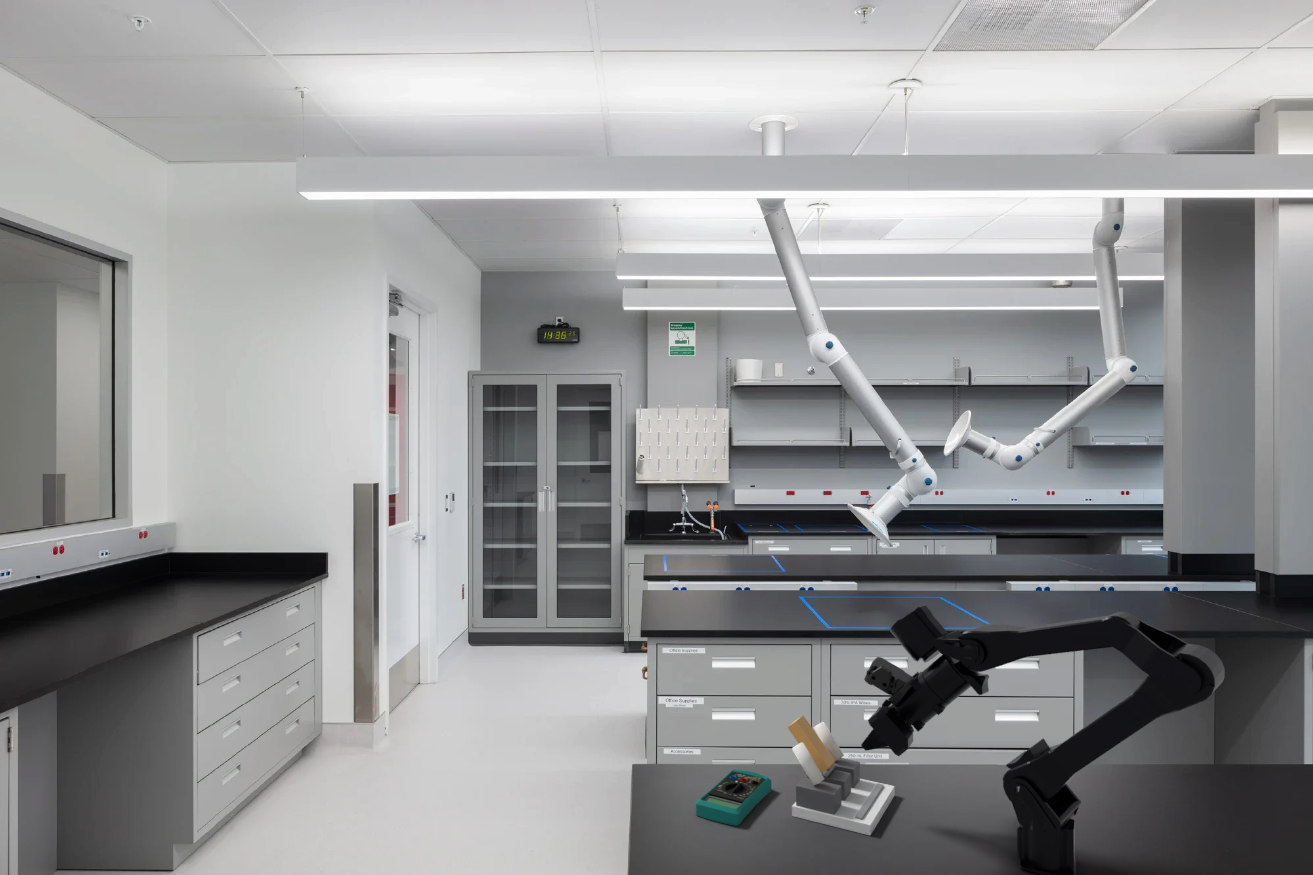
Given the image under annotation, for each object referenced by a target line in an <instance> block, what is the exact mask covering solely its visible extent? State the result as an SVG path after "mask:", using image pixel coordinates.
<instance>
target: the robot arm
mask: <svg viewBox="0 0 1313 875" xmlns="http://www.w3.org/2000/svg"><path fill="white" fill-rule="evenodd" d="M889 631H890V633H891V634H892V635H893V636H894V637H895V639H896V640H897V641H898V642H899V644H900V645H901V646H902V648H903V649H904V650H905V651H906V652H907V653H908V655H909V656H910V657H911V659H912V660H913V661H914V662H919V661H920V660H922V661H923V662H924V663H928V662H930V661H931V660H933V659H934V658H935V657H937V656H939V654H940V656H939V657H938V658H937V659H936V660H935V661H933V662H932V663H931V664H930V665H928V666H927V667H926V668H925V669H923V671H920V672H919V671H917V672H915V673H914V674H913V675H911V674H909V673H908V672H906V671H905V670H904V669H903V668H900V667H898V666H897V665H895V664H893V663H892V662H891V661H888V660H887V659H885V658H883V657H880V656H876V658H874V660H873V661H872V662H871V664H870V665H869V668H868V670H867V671H866V674H865V676H864V678H863V680H864V681H865V683H866V684H868V685H870V686H873V687H876V688H877V689H879V690H880V691H882V692H884V693H886V694H887V695H889V696H890V697H888V698H887V699H885V700H884V701H883V702H882V703H881V706H879V707H878V708H877V709H876V710H875V712H874V713H873V714H872V715H871V716H870V717H869V718H868V720H867V722H868V724H869V726H870V727H871V728H872V730H871V731H870V732H869V734H868V735H867V736H866V737H865V739H864V740H863V741H862V742H861V745H860V746H861V747H862V749H864V751H873V750H877V749H881V748H887V747H888V748H889V749H890V750H891V751H892V752H893V754H894V755H896V756H898V757H900V756H901V755H903V754H904V753H905V752H907V751H908V750H909V749H910V747H911V746H912V744H913V743H914V732H915V730H916V731H917V732H920V731H921V730H922V729H923V728H924V727H925V725H926V724H927V723H928V722H929V721H930V720H932V719H933V718H935V716H936V715H937V716H939V715H941V714H942V713H944V711H945V709H946V708H947V707H948V706H949V705H950V704H951V703H952V702H954V701H956V700H957V698H959V697H960V696H962V695H963V694H964V693H965V692H967V691H968V690H969V689H970V688H972V689H973V690H974V692H976V694H978V696H982V695H984V694H986V693H989V692H990V691H989V690H990V688H989V678H990V675H989V674H988V673H987V674H984V673H982V672H985V671H989V670H991V669H995V668H998V667H1000V666H1005V665H1006V664H1007V665H1008V664H1009V663H1012V662H1015V661H1018V660H1022V659H1024V658H1030V657H1038V656H1047V655H1057V654H1063V653H1065V654H1066V653H1074V652H1081V651H1090V650H1098V649H1105V648H1106V649H1107V648H1114V649H1115V650H1117V651H1119V652H1120V653H1122V654H1123V655H1124V657H1126V658H1127V659H1129V660H1130V662H1132V663H1133V664H1134V665H1135V666H1136V667H1137V668H1139V669H1140V670H1141V671H1142V672H1143V673H1144V674H1146V675H1148V676H1147V677H1145V679H1144V680H1143V681H1142V682H1141V684H1140V685H1139V686H1138V687H1137V689H1136V690H1135V691H1133V692H1132V693H1131V694H1129V695H1128V696H1126V697H1125V698H1123V699H1122V700H1120V701H1119V702H1118V703H1116V704H1115V705H1114V706H1112V707H1111V708H1109V709H1108V710H1107V711H1105V712H1104V713H1102V714H1100V715H1099V716H1098V717H1096V718H1095V719H1094V720H1092V721H1091V722H1090V723H1088V724H1087V725H1086V726H1083V728H1081V729H1080V730H1078V731H1077V732H1076V733H1074V734H1073V735H1071V736H1070V737H1068V738H1067V739H1066V740H1064V741H1063V742H1060V743H1058V744H1056V745H1053V746H1049V744H1048V743H1047V742H1046V740H1045V739H1044V738H1041V739H1040V740H1038V742H1036V743H1035V744H1033V745H1032V746H1031V747H1030V748H1028V749H1027V750H1026V751H1022V752H1021V753H1020V754H1019V755H1017V756H1016V757H1015V758H1013V759H1012V760H1011V761H1009V762H1008V763H1006V765H1005V767H1007V768H1008V769H1009V770H1007V771H1006V772H1005V773H1004V774H1003V777H1002V787H1003V790H1004V793H1005V795H1006V797H1007V799H1008V800H1009V801H1010V802H1011V804H1012V808H1013V810H1014V812H1015V816H1016V819H1017V821H1018V822H1017V829H1016V841H1017V842H1016V844H1017V845H1016V846H1017V848H1016V850H1017V851H1016V854H1017V855H1016V857H1017V858H1019V859H1020V862H1019V868H1020V869H1021V870H1023V871H1026V872H1032V873H1034V874H1035V873H1036V874H1039V875H1076V871H1077V857H1076V845H1075V844H1076V841H1075V840H1076V838H1075V835H1076V834H1075V833H1076V831H1075V830H1076V829H1075V828H1076V827H1075V826H1076V825H1075V823H1076V822H1075V819H1073V817H1074V816H1076V815H1077V814H1078V812H1079V809H1080V807H1081V805H1082V801H1081V800H1080V798H1079V797H1078V796H1077V795H1076V793H1075V792H1074V791H1073V789H1071V787H1070V786H1069V785H1068V784H1069V783H1070V781H1071V780H1072V779H1073V778H1074V777H1075V776H1076V775H1077V774H1078V772H1079V771H1080V770H1083V769H1084V768H1085V767H1087V766H1088V765H1090V764H1091V763H1092V762H1094V761H1096V760H1097V759H1098V758H1100V757H1102V756H1103V755H1104V754H1106V753H1108V751H1110V750H1112V749H1113V748H1115V747H1116V746H1118V745H1119V744H1121V743H1122V742H1124V741H1125V740H1127V739H1128V738H1130V737H1131V736H1132V735H1134V734H1135V733H1137V732H1138V731H1140V730H1141V729H1142V728H1144V727H1145V726H1147V725H1149V724H1150V723H1153V721H1154V720H1156V719H1158V718H1161V717H1164V716H1167V715H1170V714H1173V713H1177V712H1179V711H1182V710H1184V709H1187V708H1189V707H1192V706H1194V705H1197V704H1199V703H1202V702H1204V701H1206V700H1208V698H1209V697H1210V696H1211V695H1212V694H1213V693H1214V692H1215V691H1216V690H1217V689H1218V687H1219V686H1221V684H1222V683H1223V682H1224V679H1225V677H1226V676H1225V672H1226V671H1225V666H1224V664H1223V663H1224V662H1223V661H1222V660H1221V658H1220V657H1219V656H1218V654H1216V652H1214V651H1212V650H1211V649H1210V648H1207V647H1206V646H1203V645H1202V644H1201V645H1200V644H1193V643H1188V642H1186V641H1185V640H1184V639H1183V640H1182V639H1181V638H1179V637H1178V636H1176V635H1174V634H1172V633H1170V632H1167V631H1165V630H1163V629H1161V628H1158V627H1157V626H1154V625H1151V624H1148V623H1146V622H1145V621H1143V620H1141V619H1140V618H1139V617H1137V616H1135V615H1133V614H1132V613H1129V612H1127V611H1118V612H1115V613H1113V614H1110V615H1101V616H1095V617H1088V618H1082V619H1074V620H1073V619H1072V620H1068V621H1060V622H1055V623H1054V622H1053V623H1052V622H1051V623H1047V624H1038V625H1033V626H1031V625H1030V626H1019V625H1017V626H1016V625H1010V624H994V623H993V624H992V623H988V624H987V623H985V624H982V625H979V626H976V627H973V628H972V629H971V628H970V629H968V630H954V631H952V632H950V633H949V632H948V631H947V630H946V629H945V628H944V627H943V626H942V624H941V623H940V622H939V621H938V619H936V617H935V616H934V615H933V613H932V611H931V609H929V607H928V606H927V605H925V604H922V605H920V606H917V607H916V608H915V609H914V610H913V611H911V612H909V613H907V614H906V615H905V616H904V617H903V618H900V619H898V620H897V621H896V622H895V623H894V624H893V625H892V626H891V627H890V630H889Z"/></svg>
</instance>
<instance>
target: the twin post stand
mask: <svg viewBox="0 0 1313 875" xmlns="http://www.w3.org/2000/svg"><path fill="white" fill-rule="evenodd" d="M813 730H814V731H815V733H816V734H817V736H818V737H819V738H820V740H821V741H822V743H823V744H824V746H825V747H826V748H827V750H828V751H829V753H830V754H831V755H832V757H833V758H834V760H835V762H834V764H835V768H834V769H833V771H832V772H831V773H830V774H829V775H828V776H827V777H825V776H824V775H823V772H822V773H821V772H820V770H819V769H818V767H817V765H816V764H815V762H814V760H813V759H812V757H811V755H810V754H809V752H808V750H807V748H806V747H805V745H804V743H803V742H801V743H798V744H796V745H795V746H793V747H792V748H791V749H792V752H793V754H794V755H795V756H796V758H797V760H798V761H799V764H800V766H801V768H802V769H803V770H804V772H805V774H806V776H807V777H803V778H802V779H801V780H800V781H799V782H798V783H797V784H796V785H795V794H796V795H795V802H794V803H793V804H792V805H791V817H795V818H798V819H803V820H805V821H806V820H807V821H810V822H814V823H818V824H822V825H823V824H824V825H827V826H831V827H835V828H838V829H842V830H847V831H851V832H855V833H858V834H862V835H867V836H871V835H872V833H873V832H874V831H875V829H876V827H877V825H879V822H880V820H881V819H882V817H883V816H884V814H885V812H886V810H887V809H888V807H889V806H890V804H891V802H892V801H893V799H894V797H895V795H896V794H895V785H891V784H886V783H881V782H877V781H871V780H867V779H863V778H861V761H858V760H853V759H848V758H843V757H844V756H845V754H844V753H843V751H842V749H841V747H840V746H839V745H838V742H837V741H836V740H835V737H834V736H833V734H832V733H831V731H830V730H829V728H828V726H827V724H826V723H825V722H824V721H821V722H820V723H818V724H816V725H815V726H813Z"/></svg>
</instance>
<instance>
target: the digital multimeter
mask: <svg viewBox="0 0 1313 875" xmlns="http://www.w3.org/2000/svg"><path fill="white" fill-rule="evenodd" d="M769 792H770V793H771V792H772V779H771V778H770V777H768V776H766V775H764V774H760V773H758V772H755V771H751V770H743V769H732V770H730V772H728V774H727V775H726V776H724V777H723V778H722V779H721V780H720V781H719V782H718V783H717V784H715V786H713V787H712V788H711V789H710V790H709V791H707V792H706V793H705V794H703V795H702V796H701V797H700V798H699V799H698V800H696V801H695V811H694V812H695V815H696V816H697V817H700V818H703V819H706V820H708V821H713V822H716V823H721V824H726V825H730V826H735V827H738V826H740V824H741V823H742V822H743V821H744V820H745V818H746V817H747V816H748V814H750V813H751V811H752V810H753V809H754V808H755V807H756V806H757V805H759V803H760V802H761V801H762V800H763V799H764V798H765V797H766V796H768V795H769V794H770V793H769ZM768 793H769V794H768Z"/></svg>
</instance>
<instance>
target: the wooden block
mask: <svg viewBox="0 0 1313 875" xmlns="http://www.w3.org/2000/svg"><path fill="white" fill-rule="evenodd" d="M787 729H788V730H789V732H790V734H792V736H793V738H794V739H795V741H796V742H797V743H798V744H799V743H801V742H803V743H804V745H805V747H806V748H807V750H808V752H809V754H810V755H811V757H812V759H813V760H814V762H815V764H816V765H817V767H818V769H819V770H820V772H821V773H822V772H823V775H824V776H825V777H827V776H828V775H829V774H830V773H831V772H832V771H833V769H834V768H835V764H834V762H835V760H834V758H833V757H832V755H831V754H830V753H829V751H828V750H827V748H826V747H825V746H824V744H823V743H822V741H821V739H820V738H819V736H818V734H817V733H816V731H815V729H814V727H812V726H811V724H810V723H809V721H808V720H807V719H806V717H805V715H803V714H802V715H801V716H800V717H798V718H797V719H795V720H794V721H792V722H791V724H789V725H788V726H787Z"/></svg>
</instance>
